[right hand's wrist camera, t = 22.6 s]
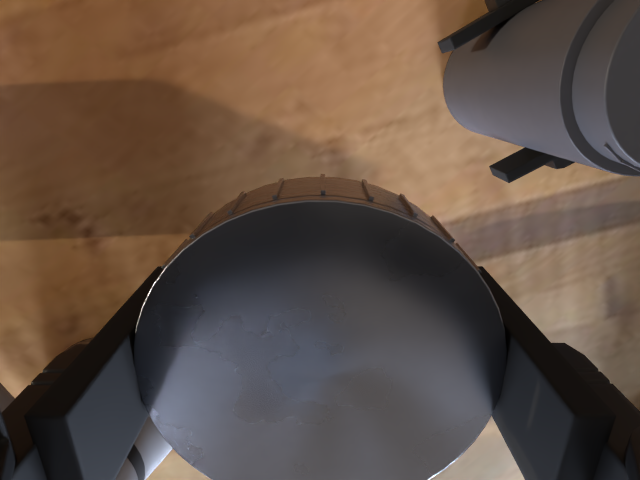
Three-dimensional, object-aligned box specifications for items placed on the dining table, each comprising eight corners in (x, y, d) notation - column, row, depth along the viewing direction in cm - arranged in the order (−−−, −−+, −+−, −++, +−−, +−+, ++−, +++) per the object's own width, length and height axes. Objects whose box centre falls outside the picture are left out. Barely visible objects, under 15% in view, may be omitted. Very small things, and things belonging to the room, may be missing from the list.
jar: (476, 155, 35) (644, 229, 17) (422, 68, 33) (550, 45, 15) (570, 89, 33) (870, 94, 15) (520, -9, 31) (807, -143, 13)
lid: (509, 186, 11) (557, 212, 9) (445, 450, 14) (468, 518, 12) (154, 160, 11) (109, 180, 8) (174, 434, 14) (146, 501, 12)
